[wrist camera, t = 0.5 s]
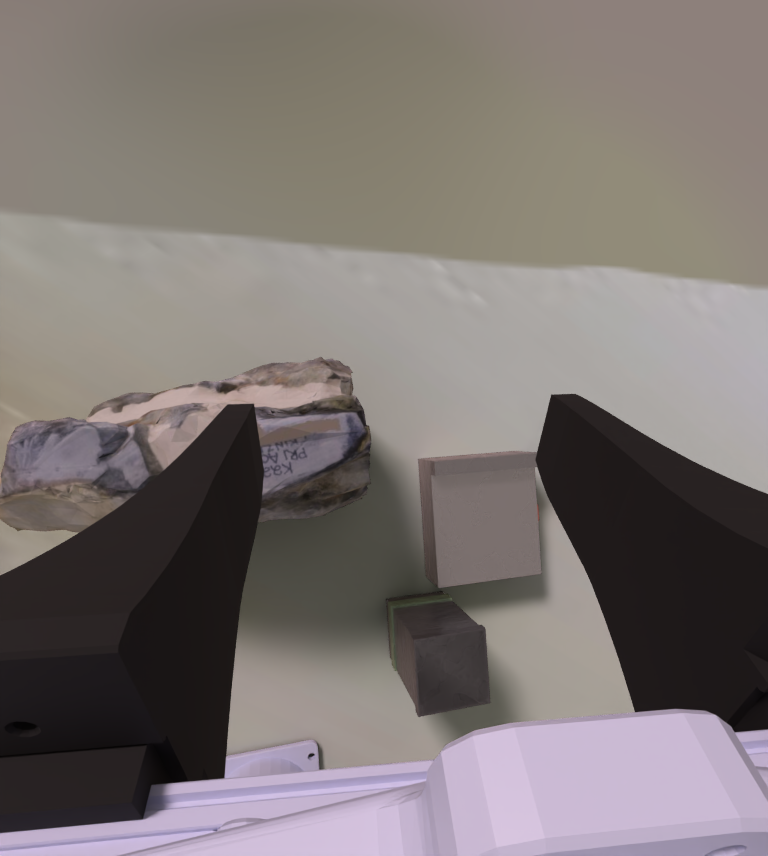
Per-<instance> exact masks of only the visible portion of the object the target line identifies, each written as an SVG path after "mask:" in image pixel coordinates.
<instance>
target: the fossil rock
mask: <svg viewBox="0 0 768 856" xmlns="http://www.w3.org/2000/svg"><path fill="white" fill-rule="evenodd" d="M351 373H353V372H352V371H351V369H350V368H349V367H348V366H345V365H343V364H342V363H341V362H340V361H335V360H333V359H328V360H324V359H323V358H322V357H319V358H317V359H315V360H312V361H311V360H309V361H306V362H303V363H288V362H287V363H271V364H267V365H263V366H260V367H257V368H254V369H252V370H250V371H247V372H245V373H243V374H240V375H238V376H235V377H233V378H230V379H226V380H222V381H217V382H210V381H203V382H199V383H195V384H189V385H183V386H180V387H177V388H173V389H170V390H166V391H163V392H159V393H156V394H153V393H128V394H125V395H122V396H119V397H116V398H114V399H111V400H108V401H105V402H103V403H101V404H99V405H97V406H95V407H94V408H93V410H92V411H91V413H90V414H89V416H88V417H87V420H84V419H83V420H77V419H73V418H70V417H69V418H63V419H58V420H53V421H31V422H28V423H25V424H22V425H20V426H18V427H16V428H15V430H14V432H13V433H12V435H11V437H10V440H9V442H8V444H7V451H6V458H5V462H4V466H3V469H2V471H1V473H0V519H1V520H2V521H3V522H5V523H6V524H7V525H9V526H10V527H13V528H15V529H16V530H17V531H20V530H34V531H54V530H68V531H72V532H79V533H80V532H81V531H83V530H84V529H86V528H87V527H89V526H90V525H92V524H94V523H95V522H97V521H98V520H100V519H101V518H103V517H104V516H106V515H107V514H109V513H110V512H112V511H113V510H115V509H116V508H118V507H119V506H120V505H122V504H123V503H124V502H126V501H127V500H128V499H130V498H131V497H132V496H134V495H135V494H136V493H138V492H139V491H140V490H141V489H143V488H144V487H145V486H146V485H148V484H149V483H150V482H151V481H152V480H154V479H155V478H156V477H157V476H158V475H159V474H160V473H161V472H162V471H163V470H165V469H166V468H167V467H168V466H169V465H170V464H171V463H172V462H173V461H174V460H175V459H176V458H177V457H178V456H179V455H180V454H181V453H182V452H183V451H184V450H185V449H186V448H187V447H188V446H189V445H190V444H191V443H192V442H193V441H194V440H195V439H196V438H197V437H198V436H199V435H200V434H201V432H202V431H203V430H204V429H205V428H206V427H207V426H208V425H209V424H210V423H211V421H212V420H213V419H214V418H215V417H216V416H217V415H218V414H219V413H220V412H221V411H222V410H223V409H224V407H225V406H226V405H227V404H254V407H255V414H256V420H257V427H258V433H259V440H260V447H261V453H262V460H263V467H264V479H263V492H262V503H261V510H260V515H259V519H258V523H259V522H265V521H268V520H277V519H288V518H294V519H302V518H312V517H317V516H323V515H326V514H327V513H329V512H332V511H334V510H336V509H338V508H341V507H344V506H346V505H348V504H350V503H353V502H355V501H357V500H359V499H362V496H364V495H366V493H367V489H368V488H367V485H369V484H371V482H370V477H369V472H368V471H369V466H370V461H369V457H370V454H369V451H370V445H371V436H370V429H369V426H367V425H366V421H365V414H364V409H363V408H362V406H361V404H360V402H359V400H358V399H357V397H356V396H352V391H353V384H352V378H351Z"/></svg>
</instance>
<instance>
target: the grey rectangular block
mask: <svg viewBox="0 0 768 856" xmlns="http://www.w3.org/2000/svg"><path fill="white" fill-rule="evenodd" d="M386 604H387V619H388V634H389V649H390V658H391V660H392V666H393V668H394V670H395V671H397V672H398V674H399V675H400V677H401V679H402V681H403V683H404V685H405V687H406V689H407V691H408V693H409V695H410V697H411V698H412V700H413V702H414V704H415V707H416V713H417V715H418V717H420V716H425V715H431V714H436V713H441V712H446V711H451V710H456V709H462V708H467V707H472V706H477V705H482V704H487V703H490V691H489V675H488V660H487V645H486V630H485V628H484V627H483V626H482V625H478V624H477V623H476V622H475V621H473V620H472V619H471V618H470V617H469V616H468V615H467V614H466V613H465V612H464V611H463V610H462V609H461V608H459V607H458V606H457V605H456V604H455V603H454V602H453V601H452V597H451V596H449V595H448V594H444V593H443V592H442V591H439V592H432V593H425V594H418V595H411V596H404V597H397V598H389V599H386Z"/></svg>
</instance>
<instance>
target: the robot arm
mask: <svg viewBox="0 0 768 856" xmlns="http://www.w3.org/2000/svg"><path fill="white" fill-rule="evenodd" d="M535 461H536V464H537V467H538V470H539V473H540V476H541V480H542V482H543V485H544V488H545V491H546V494H547V496H548V498H549V500H550V502H551V504H552V506H553V508H554V510H555V512H556V514H557V516H558V518H559V520H560V522H561V524H562V526H563V528H564V529H565V531H566V533H567V535H568V537H569V539H570V541H571V543H572V545H573V547H574V549H575V551H576V553H577V555H578V557H579V559H580V560H581V562H582V564H583V566H584V568H585V571H586V573H587V575H588V577H589V579H590V581H591V584H592V586H593V589H594V592H595V594H596V597H597V599H598V602H599V605H600V607H601V610H602V613H603V615H604V618H605V621H606V623H607V626H608V629H609V632H610V635H611V638H612V641H613V644H614V647H615V649H616V652H617V655H618V658H619V661H620V664H621V668H622V671H623V674H624V677H625V681H626V684H627V687H628V690H629V693H630V697H631V700H632V703H633V707H634V710H635V712H633V713H621V714H609V715H598V716H586V717H574V718H562V719H551V720H539V721H527V722H515V723H508V724H503V725H498V726H493V727H488V728H484V729H479V730H474V731H472V732H470V733H468V734H466V735H464V736H462V737H460V738H458V739H456V740H454V741H452V742H450V743H448V744H446V745H445V746H444V748H443V749H442V751H441V752H440V753H439V755H438V756H437V757H436V759H434V760H423V761H412V762H401V763H390V764H379V765H368V766H356V767H345V768H334V769H323V770H319V756H318V745H317V742H316V741H314V740H307V741H302V742H296V743H291V744H286V745H281V746H276V747H271V748H266V749H260V750H255V751H250V752H245V753H240V754H235V755H229V756H226V751H227V736H228V724H229V713H230V701H231V689H232V678H233V668H234V658H235V648H236V639H237V630H238V621H239V612H240V604H241V598H242V592H243V587H244V582H245V578H246V573H247V569H248V564H249V560H250V555H251V551H252V546H253V542H254V537H255V533H256V528H257V524H258V519H259V515H260V510H261V503H262V492H263V479H264V467H263V460H262V453H261V447H260V440H259V433H258V427H257V420H256V414H255V407H254V404H227V405H226V406H225V407H224V409H223V410H222V411H221V412H220V413H219V414H218V415H217V416H216V417H215V418H214V419H213V420H212V421H211V423H210V424H209V425H208V426H207V427H206V428H205V429H204V430H203V431H202V432H201V434H200V435H199V436H198V437H197V438H196V439H195V440H194V441H193V442H192V443H191V444H190V445H189V446H188V447H187V448H186V449H185V450H184V451H183V452H182V453H181V454H180V455H179V456H178V457H177V458H176V459H175V460H174V461H173V462H172V463H171V464H170V465H169V466H168V467H167V468H166V469H165V470H163V471H162V472H161V473H160V474H159V475H158V476H157V477H156V478H155V479H154V480H152V481H151V482H150V483H149V484H148V485H146V486H145V487H144V488H143V489H141V490H140V491H139V492H138V493H136V494H135V495H134V496H132V497H131V498H130V499H128V500H127V501H126V502H124V503H123V504H122V505H120V506H119V507H118V508H116V509H115V510H113V511H112V512H110V513H109V514H107V515H106V516H104V517H103V518H101V519H100V520H98V521H97V522H95V523H94V524H92V525H90V526H89V527H87V528H86V529H84V530H83V531H81V532H80V533H78V534H77V535H75V536H73V537H72V538H70V539H68V540H67V541H65V542H63V543H61V544H60V545H58V546H56V547H54V548H53V549H51V550H49V551H47V552H45V553H44V554H42V555H40V556H38V557H36V558H34V559H32V560H30V561H29V562H27V563H25V564H23V565H21V566H19V567H17V568H15V569H13V570H11V571H9V572H7V573H5V574H3V575H0V856H768V494H766V493H764V492H761V491H758V490H756V489H753V488H751V487H748V486H746V485H744V484H741V483H739V482H736V481H734V480H732V479H730V478H727V477H725V476H723V475H721V474H719V473H716V472H714V471H712V470H710V469H708V468H706V467H703V466H701V465H699V464H697V463H695V462H693V461H691V460H689V459H688V458H686V457H684V456H682V455H680V454H678V453H676V452H675V451H673V450H671V449H669V448H667V447H665V446H663V445H662V444H660V443H658V442H657V441H655V440H653V439H651V438H650V437H648V436H646V435H644V434H643V433H641V432H639V431H638V430H636V429H634V428H633V427H631V426H630V425H628V424H626V423H625V422H623V421H621V420H620V419H618V418H616V417H615V416H613V415H612V414H610V413H608V412H607V411H605V410H603V409H602V408H600V407H598V406H597V405H595V404H593V403H592V402H590V401H588V400H586V399H584V398H583V397H581V396H578V395H576V394H559V395H551V398H550V402H549V406H548V411H547V415H546V419H545V423H544V427H543V431H542V435H541V439H540V443H539V447H538V451H537V455H536V459H535ZM310 753H314V756H312V757H309V756H308V755H309V754H310Z"/></svg>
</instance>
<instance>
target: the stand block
mask: <svg viewBox="0 0 768 856" xmlns="http://www.w3.org/2000/svg"><path fill="white" fill-rule="evenodd" d="M536 455H537V452H523V451H508V452H496V453H484V454H471V455H459V456H447V457H434V458H422V459H418V463H419V478H420V493H421V508H422V523H423V538H424V553H425V568H426V577H427V578H428V579H429V580H430V581H431V582H433V583H434V584H435V585H436V586H437V587H438V588H442V587H450V586H457V585H464V584H471V583H479V582H486V581H493V580H500V579H507V578H515V577H522V576H529V575H536V574H542V572H541V557H540V542H539V527H538V521H539V509H538V504H537V497H536V482H535V467H537V464H536V461H535V459H536Z"/></svg>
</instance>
